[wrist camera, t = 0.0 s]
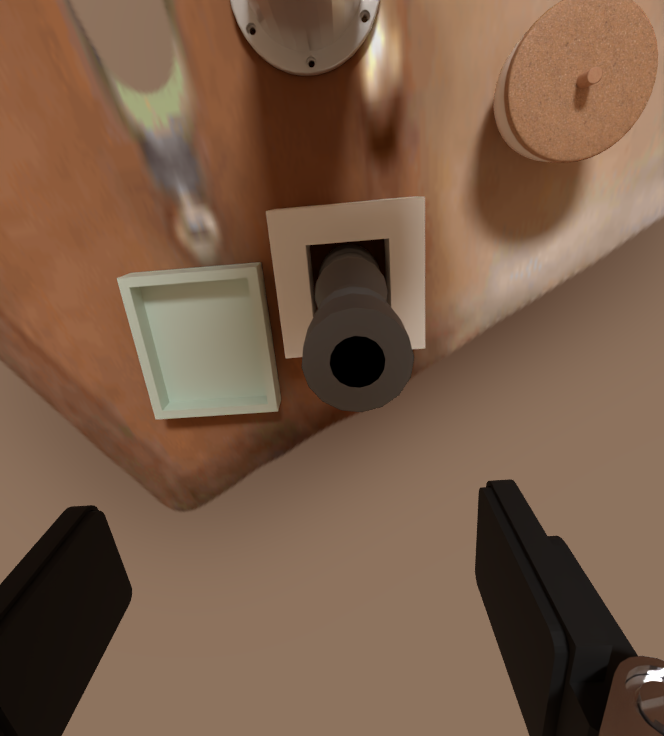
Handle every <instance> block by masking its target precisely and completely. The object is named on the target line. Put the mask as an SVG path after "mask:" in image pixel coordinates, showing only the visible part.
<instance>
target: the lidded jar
mask: <svg viewBox="0 0 664 736" xmlns="http://www.w3.org/2000/svg"><path fill="white" fill-rule="evenodd" d="M657 67H658V49H657V40H656V37H655V33H654V30H653V27H652V25H651V23H650V21H649V19H648V17H647V15H646V14H645V13H644V11H643V10H642V9H641V7H639V6H638V5H637V4H636V3H635V2H634V1H633V0H562V1H560V2H559V3H557V4H556V5H554V6H553V7H552V8H550V9H549V10H548V11H546V12H545V13H544V14H543V15H542V16H541V17H540V18H539V19H538V20H537V21H536V22H535V23H534V24H533V25H532V26H531V28H530V29H529V30H528V31H527V32H526V33H525V34H524V35H523V37H522V38H521V39H520V40H519V41H518V43H517V44H516V45H515V47H514V48H513V49H512V51H511V53H510V54H509V56H508V57H507V59H506V61H505V63H504V65H503V67H502V69H501V72H500V74H499V77H498V80H497V84H496V88H495V93H494V117H495V121H496V125H497V128H498V130H499V132H500V135H501V136H502V138H503V139H504V141H505V142H506V143H507V144H508V145H509V146H510V148H512V149H513V150H514V151H516V152H517V153H518V154H520V155H522V156H524V157H526V158H529V159H532V160H536V161H541V162H561V163H565V162H575V161H580V160H584V159H588V158H590V157H593V156H595V155H597V154H600V153H601V152H603V151H605V150H606V149H608V148H610V147H611V146H612V145H614V144H615V143H616V142H617V141H619V140H620V139H621V138H622V137H623V136H624V135H625V134H626V133H627V132H628V131H629V130H630V129H631V127H632V126H633V125H634V124H635V122H636V121H637V120H638V118H639V117H640V115H641V113H642V112H643V110H644V108H645V106H646V104H647V102H648V100H649V97H650V95H651V93H652V89H653V86H654V83H655V79H656V73H657Z"/></svg>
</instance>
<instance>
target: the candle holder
mask: <svg viewBox="0 0 664 736" xmlns="http://www.w3.org/2000/svg"><path fill="white" fill-rule="evenodd" d="M387 293H388V290H387V287H386V283H385V279H384V276H383V275H382V274H381V272H380V270H379V266H378V264H377V262H376V260H375V258H374V257H373V256H372V255H371V253H370V252H369V251H368V250H366V249H365V248H363V247H361V246H359V245H354V244H344V245H341V246H338V247H335V248H334V249H333V250H331V251H330V252H329V253H328V254H327V255H326V256H325V258H324V260H323V262H322V264H321V266H320V270H319V278H318V280H317V282H316V289H315V301H316V304H317V307H318V310H317V311H316V313H315V315H314V317H313V319H312V321H311V323H310V325H309V327H308V329H307V333H306V337H305V341H304V345H303V355H302V370H303V373H304V375H305V378H306V381H307V384H308V386H309V387H310V389H311V390H312V391H313V392H314V393H315V394H316V395H317V396H318V397H319V398H320V399H321V400H322V401H323V402H325V403H327V404H329V405H331V406H333V407H335V408H337V409H339V410H344V411H355V412H364V411H368V410H372V409H375V408H380V407H383V406H384V405H385V404H387V403H388V402H390V401H391V400H393V399H394V398H395V397H397V396H398V395H399V394H400V393H401V391H402V390H403V388H404V387H405V385H406V384H407V382H408V381H409V379H410V378H411V373H412V367H413V361H414V355H413V351H412V347H411V343H410V339H409V336H408V334H407V332H406V330H405V327H404V325H403V323H402V321H401V319H400V318H399V317H398V315H397V314H396V313H395V312H394V310H393V309H392V308H391V306H390V305H389V304H388V303H387V302H386V299H387Z"/></svg>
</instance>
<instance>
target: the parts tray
mask: <svg viewBox="0 0 664 736" xmlns="http://www.w3.org/2000/svg"><path fill="white" fill-rule="evenodd" d="M117 281H118V285H119V288H120V292H121V295H122V299H123V303H124V306H125V310H126V314H127V317H128V321H129V324H130V328H131V332H132V335H133V339H134V343H135V346H136V350H137V353H138V357H139V361H140V364H141V368H142V372H143V375H144V379H145V382H146V386H147V390H148V393H149V397H150V400H151V404H152V408H153V411H154V415H155V419H171V418H186V417H201V416H217V415H232V414H247V413H262V412H277V411H278V409H279V406H280V402H281V394H280V387H279V380H278V373H277V366H276V359H275V352H274V345H273V338H272V332H271V325H270V318H269V311H268V304H267V297H266V290H265V283H264V276H263V269H262V263H261V262H255V263H244V264H232V265H220V266H208V267H196V268H184V269H172V270H160V271H148V272H136V273H129V274H127V275H124V276H121V277H119V278H117Z"/></svg>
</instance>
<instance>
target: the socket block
mask: <svg viewBox="0 0 664 736" xmlns="http://www.w3.org/2000/svg"><path fill="white" fill-rule="evenodd" d="M266 218H267V225H268V233H269V240H270V248H271V255H272V262H273V270H274V277H275V285H276V292H277V299H278V307H279V314H280V321H281V329H282V336H283V344H284V351H285V358H298V357H302V355H303V345H304V341H305V337H306V333H307V329H308V327H309V325H310V323H311V321H312V319H313V317H314V315H315V313H316V302H315V292H314V282H313V272H312V262H311V252H310V245H316V244H328V243H340V242H351V241H363V240H375V239H384V245H385V272H386V287H387V290H388V293H387V299H386V300H387V303H388V304H389V305H390V306H391V308H392V309H393V310H394V312H395V313H396V314H397V315H398V317H399V318H400V319H401V321H402V323H403V325H404V327H405V330H406V332H407V334H408V336H409V339H410V343H411V347H412V349H423V348H425V197H418V196H414V197H403V198H392V199H381V200H370V201H359V202H348V203H337V204H326V205H315V206H304V207H293V208H281V209H273V210H269V211H266Z"/></svg>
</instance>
